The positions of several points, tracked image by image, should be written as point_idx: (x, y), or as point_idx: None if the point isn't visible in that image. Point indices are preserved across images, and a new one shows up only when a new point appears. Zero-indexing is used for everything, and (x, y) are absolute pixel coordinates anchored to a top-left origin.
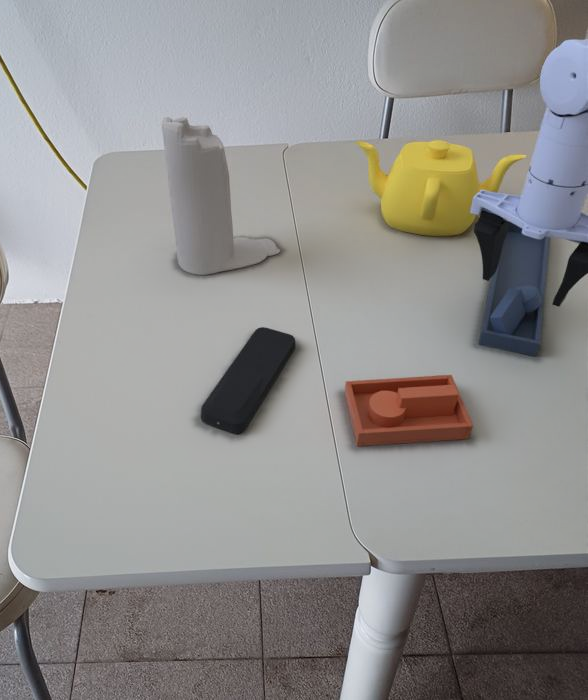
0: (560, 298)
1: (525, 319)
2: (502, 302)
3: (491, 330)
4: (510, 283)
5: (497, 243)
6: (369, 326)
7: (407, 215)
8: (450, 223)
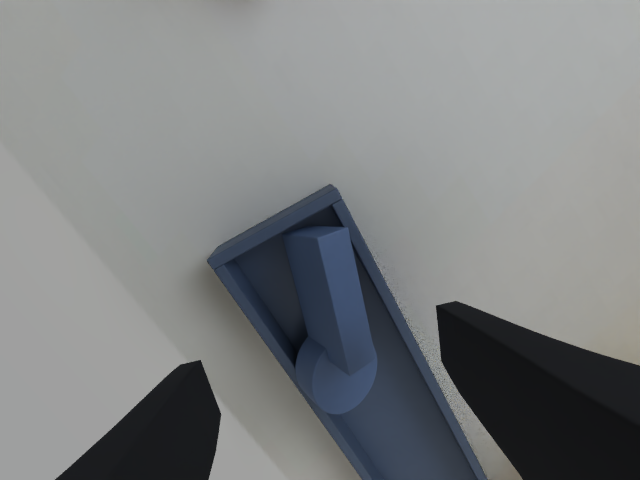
0: (155, 388)
1: (306, 329)
2: (356, 301)
3: None
4: (397, 399)
5: (602, 475)
6: (571, 23)
7: None
8: None
